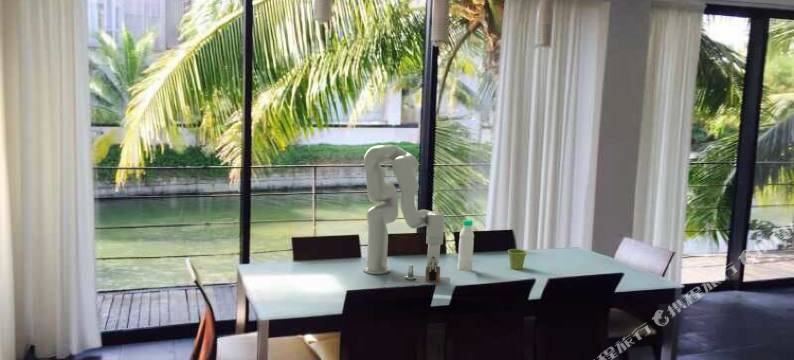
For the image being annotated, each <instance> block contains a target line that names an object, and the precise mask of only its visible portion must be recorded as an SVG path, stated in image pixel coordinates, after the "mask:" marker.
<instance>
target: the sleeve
mask: <svg viewBox="0 0 794 360" xmlns="http://www.w3.org/2000/svg"><path fill="white" fill-rule="evenodd" d="M429 271H430V265H428V266H427V265H426V266H425V275H424V276H425V280H426V281H428V282H439V281H440V277H441V267H440V266H439V265H438V266H437V267H436V281H430V280H429Z"/></svg>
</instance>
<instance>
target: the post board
mask: <svg viewBox="0 0 794 360" xmlns="http://www.w3.org/2000/svg"><path fill="white" fill-rule="evenodd" d="M405 275H406V274H399V273H394V274H393V275H392V279H391V282H398V283H413V284H424V285H426V284H427V285H439V286H441V285H442V286H451V277H447V276H445V277H444V276H440V281H439V282H428V281H426V280H425V276H426V275H418V274H417V275H415V274H413V275H414V276H416V280H406V279H405Z"/></svg>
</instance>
